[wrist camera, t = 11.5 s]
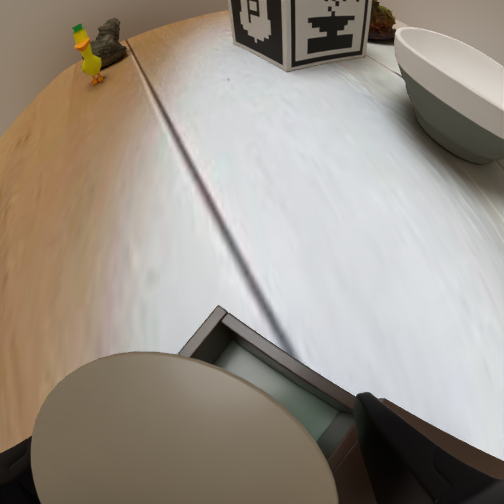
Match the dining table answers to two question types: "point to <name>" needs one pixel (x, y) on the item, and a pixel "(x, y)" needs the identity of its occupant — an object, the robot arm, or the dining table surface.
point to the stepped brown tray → (313, 402)
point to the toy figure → (87, 54)
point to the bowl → (454, 93)
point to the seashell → (108, 43)
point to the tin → (171, 438)
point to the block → (301, 30)
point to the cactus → (381, 22)
